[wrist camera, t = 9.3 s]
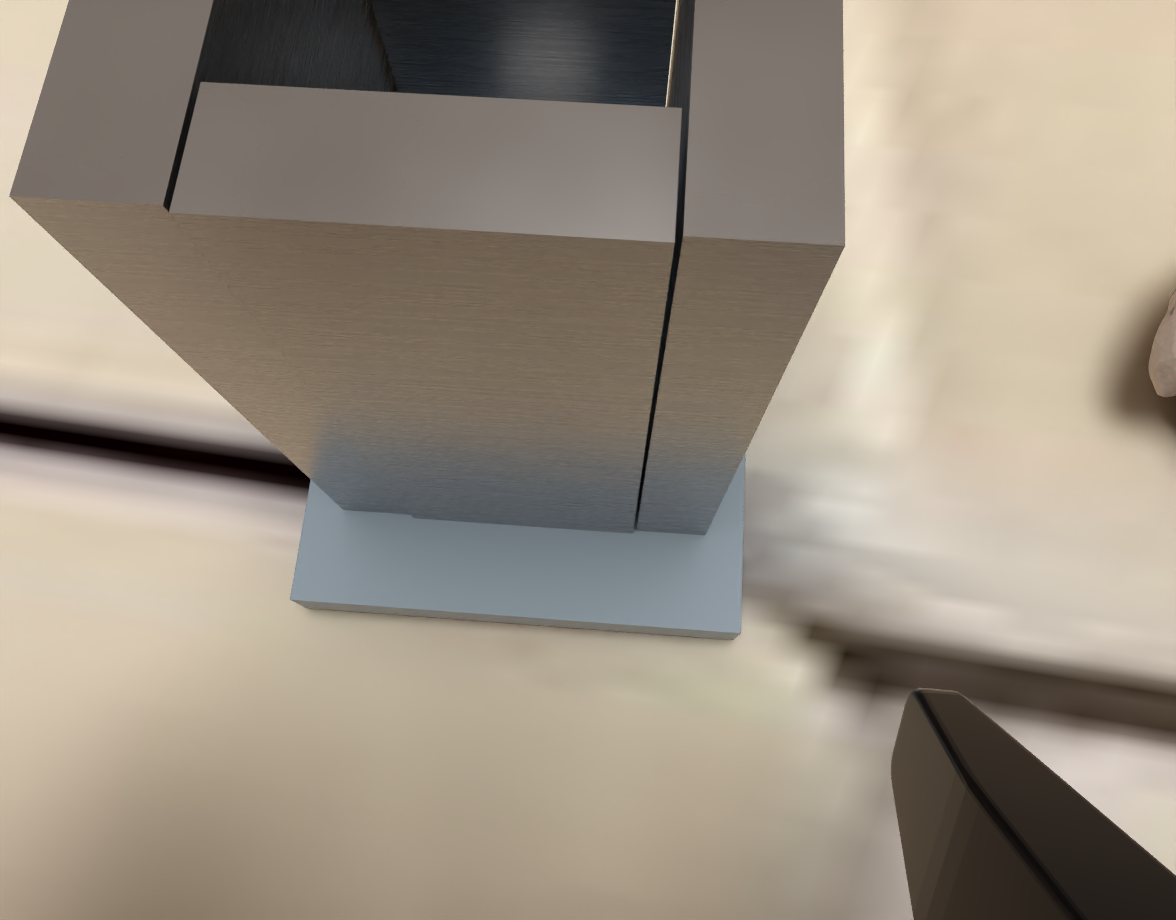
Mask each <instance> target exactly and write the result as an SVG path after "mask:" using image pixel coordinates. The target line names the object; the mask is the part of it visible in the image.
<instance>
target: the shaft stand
mask: <svg viewBox="0 0 1176 920" xmlns="http://www.w3.org/2000/svg"><path fill="white" fill-rule="evenodd" d="M744 483H745V454H744V456H743V458H742V460H741V463H740V465H739V467H738V469H737V471H736V473H735V475H734V477H733V479H732V481H731V483H730V485H729V487H728V490H727V492H726V494H725V496H724V498H723V500H722V502H721V504H720V506H719V508H718V510H717V512H716V514H715V517H714V519H713V521H712V523H711V525H710V527H709V529H708V531H707V533H706V535H691V534H677V533H663V532H648V531H636V527H637V510H638V500H637V507H636V514H635V521H634V528H633V534H629V533H615V532H601V531H586V530H572V529H558V528H544V527H530V526H516V525H502V524H487V523H473V522H459V521H445V520H431V519H417V518H413V517H412V515H408V514H393V513H379V512H365V511H351V510H343V509H342V508H341V507H340V506H339V505H338V504H336V503H335V502H334V501H333V500H332V499H331V498H330V497H329V496H328V495H327V494H326V493H325V492H324V491H323V490H322V489H320V488H319V487H318V486H317V485H316V484H315V483H314V482H313V481H312V480H311V481H310V487H309V493H308V498H307V504H306V510H305V516H304V521H303V527H302V533H301V539H300V544H299V550H298V556H297V562H296V567H295V573H294V579H293V585H292V590H291V596H290V600H292V601H294V602H296V603H298V604H300V605H302V606H304V607H306V608H314V609H327V610H341V611H354V612H367V613H381V614H394V615H407V616H421V617H434V618H447V619H461V620H474V621H487V622H501V623H514V624H527V625H541V626H554V627H567V628H581V629H594V630H608V631H621V632H634V633H648V634H661V635H674V636H688V637H701V638H714V639H728V640H733V639H734V638H736V637H737V636H738V635H739V634H740V633H741V599H742V560H743V522H744ZM638 494H639V493H638Z"/></svg>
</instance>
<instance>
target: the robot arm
mask: <svg viewBox="0 0 1176 920" xmlns="http://www.w3.org/2000/svg"><path fill="white" fill-rule="evenodd" d="M891 780H892V787H893V793H894V800H895V806H896V812H897V818H898V824H899V831H900V837H901V843H902V849H903V856H904V862H905V868H906V874H907V880H908V887H909V893H910V899H911V905H912V911H913V917H914V920H1176V875H1174V874H1173V873H1172V872H1171V871H1170V870H1169V869H1167V868H1166V867H1165V866H1164V865H1163V864H1162V863H1160V862H1159V861H1158V860H1157V859H1156V858H1154V857H1153V856H1152V855H1151V854H1150V853H1149V852H1147V851H1146V850H1145V849H1144V848H1143V847H1142V846H1140V845H1139V844H1138V843H1137V842H1136V841H1134V840H1133V839H1132V838H1131V837H1130V836H1129V835H1127V834H1126V833H1125V832H1124V831H1123V830H1121V829H1120V828H1119V827H1118V826H1117V825H1116V824H1114V823H1113V822H1112V821H1111V820H1110V819H1109V818H1107V817H1106V816H1105V815H1104V814H1103V813H1101V812H1100V811H1099V810H1098V809H1097V808H1096V807H1094V806H1093V805H1092V804H1091V803H1090V802H1089V801H1087V800H1086V799H1085V798H1084V797H1083V796H1081V795H1080V794H1079V793H1078V792H1077V791H1076V790H1074V789H1073V788H1072V787H1071V786H1070V785H1069V784H1067V783H1066V782H1065V781H1064V780H1063V779H1061V778H1060V777H1059V776H1058V775H1057V774H1056V773H1054V772H1053V771H1052V770H1051V769H1050V768H1049V767H1047V766H1046V765H1045V764H1044V763H1043V762H1041V761H1040V760H1039V759H1038V758H1037V757H1036V756H1034V755H1033V754H1032V753H1031V752H1030V751H1028V750H1027V749H1026V748H1025V747H1024V746H1023V745H1021V744H1020V743H1019V742H1018V741H1017V740H1016V739H1014V738H1013V737H1012V736H1011V735H1010V734H1008V733H1007V732H1006V731H1005V730H1004V729H1003V728H1001V727H1000V726H999V725H998V724H997V723H996V722H994V721H993V720H992V719H991V718H990V717H988V716H987V715H986V714H985V713H984V712H983V711H981V710H980V709H979V708H978V707H977V706H976V705H974V704H973V703H972V702H971V701H970V700H968V699H967V698H966V697H965V696H963V695H962V694H960V693H959V692H956V691H951V690H939V689H926V688H917V689H915V690H913V691H911V693H910V694H909V696H908V698H907V700H906V703H905V707H904V711H903V715H902V719H901V723H900V727H899V730H898V734H897V738H896V742H895V746H894V750H893V754H892V761H891Z"/></svg>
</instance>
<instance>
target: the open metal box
mask: <svg viewBox="0 0 1176 920" xmlns="http://www.w3.org/2000/svg"><path fill="white" fill-rule="evenodd" d="M675 5H676V0H69V2H68V6H67V9H66V12H65V16H64V19H63V22H62V25H61V29H60V32H59V35H58V38H57V42H56V45H55V48H54V52H53V55H52V58H51V61H50V65H49V68H48V71H47V75H46V78H45V81H44V84H43V88H42V91H41V94H40V97H39V101H38V104H37V107H36V111H35V114H34V117H33V120H32V124H31V127H30V130H29V133H28V137H27V140H26V143H25V147H24V150H23V153H22V156H21V160H20V163H19V166H18V170H17V173H16V176H15V179H14V183H13V186H12V189H11V192H10V197H11V198H12V199H13V200H14V201H15V202H16V203H17V204H18V205H19V206H20V207H21V208H22V209H23V210H24V211H26V212H27V213H28V214H29V215H30V216H31V217H32V218H33V219H34V220H35V221H36V222H37V223H38V224H39V225H40V226H42V227H43V228H44V229H45V230H46V231H47V232H48V233H49V234H50V235H51V236H52V237H53V238H54V239H55V240H56V241H57V242H59V243H60V244H61V245H62V246H63V247H64V248H65V249H66V250H67V251H68V252H69V253H70V254H71V255H72V256H73V257H75V258H76V259H77V260H78V261H79V262H80V263H81V264H82V265H83V266H84V267H85V268H86V269H87V270H88V271H89V272H91V273H92V274H93V275H94V276H95V277H96V278H97V279H98V280H99V281H100V282H101V283H102V284H103V285H104V286H105V287H106V288H108V289H109V290H110V291H111V292H112V293H113V294H114V295H115V296H116V297H117V298H118V299H119V300H120V301H121V302H122V303H124V304H125V305H126V306H127V307H128V308H129V309H130V310H131V311H132V312H133V313H134V314H135V315H136V316H137V317H138V318H139V319H141V320H142V321H143V322H144V323H145V324H146V325H147V326H148V327H149V328H150V329H151V330H152V331H153V332H154V333H155V334H157V335H158V336H159V337H160V338H161V339H162V340H163V341H164V342H165V343H166V344H167V345H168V346H169V347H170V348H171V349H172V350H174V351H175V352H176V353H177V354H178V355H179V356H180V357H181V358H182V359H183V360H184V361H185V362H186V363H187V364H188V365H190V366H191V367H192V368H193V369H194V370H195V371H196V372H197V373H198V374H199V375H200V376H201V377H202V378H203V379H204V380H205V381H207V382H208V383H209V384H210V385H211V386H212V387H213V388H214V389H215V390H216V391H217V392H218V393H219V394H220V395H221V396H223V397H224V398H225V399H226V400H227V401H228V402H229V403H230V404H231V405H232V406H233V407H234V408H235V409H236V410H237V411H238V412H240V413H241V414H242V415H243V416H244V417H245V418H246V419H247V420H248V421H249V422H250V423H251V424H252V425H253V426H254V427H256V428H257V429H258V430H259V431H260V432H261V433H262V434H263V435H264V436H265V437H266V438H267V439H268V440H269V441H270V442H271V443H273V444H274V445H275V446H276V447H277V448H278V449H279V450H280V451H281V452H282V453H283V454H284V455H285V456H286V457H287V458H289V459H290V460H291V461H292V462H293V463H294V464H295V465H296V466H297V467H298V468H299V469H300V470H301V471H302V472H303V473H305V474H306V475H307V476H308V477H309V478H310V479H311V480H312V481H313V482H314V483H315V484H316V485H317V486H318V487H319V488H320V489H322V490H323V491H324V492H325V493H326V494H327V495H328V496H329V497H330V498H331V499H332V500H333V501H334V502H335V503H336V504H338V505H339V506H340V507H341V508H342V509H343V510H351V511H365V512H379V513H393V514H408V515H412V517H413V518H417V519H431V520H445V521H459V522H473V523H487V524H502V525H516V526H530V527H544V528H558V529H572V530H586V531H601V532H615V533H629V534H633V528H634V521H635V514H636V507H637V500H638V510H637V527H636V531H648V532H663V533H677V534H691V535H706V533H707V531H708V529H709V527H710V525H711V523H712V521H713V519H714V517H715V514H716V512H717V510H718V508H719V506H720V504H721V502H722V500H723V498H724V496H725V494H726V492H727V490H728V487H729V485H730V483H731V481H732V479H733V477H734V475H735V473H736V471H737V469H738V467H739V465H740V463H741V460H742V458H743V456H744V454H745V452H746V450H747V448H748V446H749V444H750V442H751V440H752V438H753V436H754V434H755V431H756V429H757V427H758V425H759V423H760V421H761V419H762V417H763V415H764V413H765V411H766V409H767V407H768V404H769V402H770V400H771V398H772V396H773V394H774V392H775V390H776V388H777V386H778V384H779V382H780V380H781V377H782V375H783V373H784V371H785V369H786V367H787V365H788V363H789V361H790V359H791V357H792V355H793V353H794V351H795V348H796V346H797V344H798V342H799V340H800V338H801V336H802V334H803V332H804V330H805V328H806V326H807V324H808V321H809V319H810V317H811V315H812V313H813V311H814V309H815V307H816V305H817V303H818V301H819V299H820V297H821V294H822V292H823V290H824V288H825V286H826V284H827V282H828V280H829V278H830V276H831V274H832V272H833V270H834V268H835V265H836V263H837V261H838V259H839V257H840V255H841V253H842V251H843V249H844V247H845V190H844V85H843V0H678V1H677V11H676V21H675V30H674V40H673V50H672V60H671V70H670V79H669V89H668V99H667V107H665V105H666V95H667V85H668V75H669V65H670V55H671V45H672V35H673V25H674V15H675ZM638 493H639V494H638Z"/></svg>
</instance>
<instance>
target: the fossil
mask: <svg viewBox="0 0 1176 920" xmlns="http://www.w3.org/2000/svg"><path fill="white" fill-rule="evenodd" d="M1149 375H1150V378H1151V380H1152V383H1153V385H1154V388H1155V391H1156V393H1157V395H1159V396H1162V397H1164V398H1166V397H1170V396H1175V395H1176V290H1175V292H1174V293H1173V295H1172V297H1171V299H1170V301H1169V306H1168V311H1167V312H1166V314H1165V316H1164V318H1163V320H1162V322H1161V324H1160V326H1159V327H1158V330H1157V333H1156V335H1155V338H1154V342H1153V346H1152V351H1151V355H1150V360H1149Z"/></svg>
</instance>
